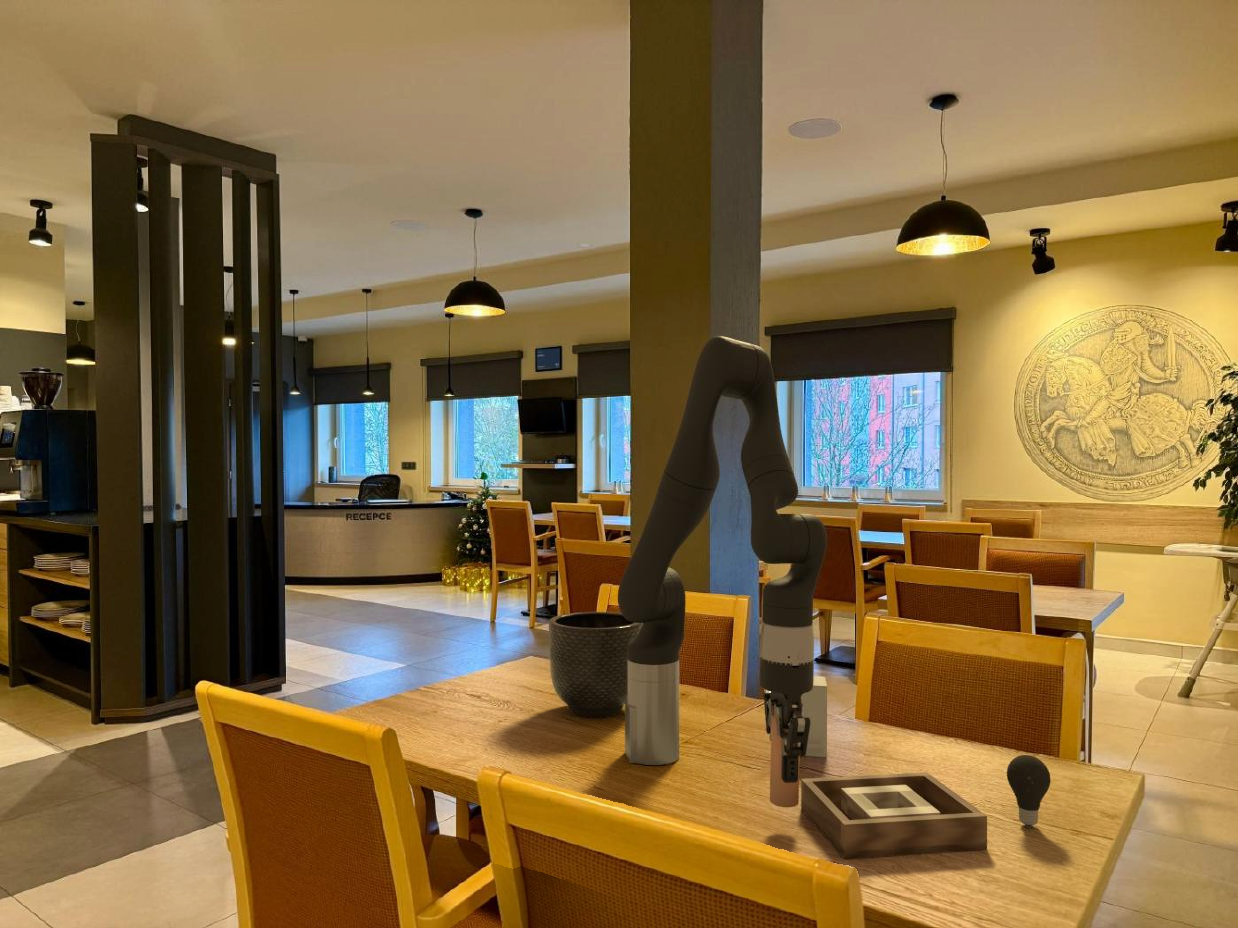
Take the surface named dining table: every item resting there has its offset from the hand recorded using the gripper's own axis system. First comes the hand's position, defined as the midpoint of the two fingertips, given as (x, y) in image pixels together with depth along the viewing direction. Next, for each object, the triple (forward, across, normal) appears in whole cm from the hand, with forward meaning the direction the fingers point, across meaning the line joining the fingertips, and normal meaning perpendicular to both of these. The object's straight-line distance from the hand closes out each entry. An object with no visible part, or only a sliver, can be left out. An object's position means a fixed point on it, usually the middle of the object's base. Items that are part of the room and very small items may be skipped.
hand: (784, 774), depth 118 cm
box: (+7, +2, +15) cm, 17 cm away
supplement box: (+8, -31, +14) cm, 35 cm away
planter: (+9, -60, -21) cm, 64 cm away
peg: (+4, 0, 0) cm, 4 cm away
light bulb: (+7, +4, +35) cm, 36 cm away
